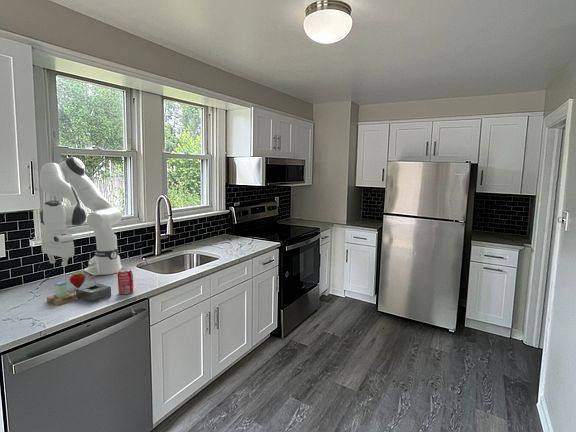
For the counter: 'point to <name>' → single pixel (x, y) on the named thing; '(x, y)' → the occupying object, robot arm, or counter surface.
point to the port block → (93, 292)
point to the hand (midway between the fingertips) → (58, 264)
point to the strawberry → (77, 279)
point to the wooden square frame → (61, 299)
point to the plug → (61, 289)
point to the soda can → (125, 281)
